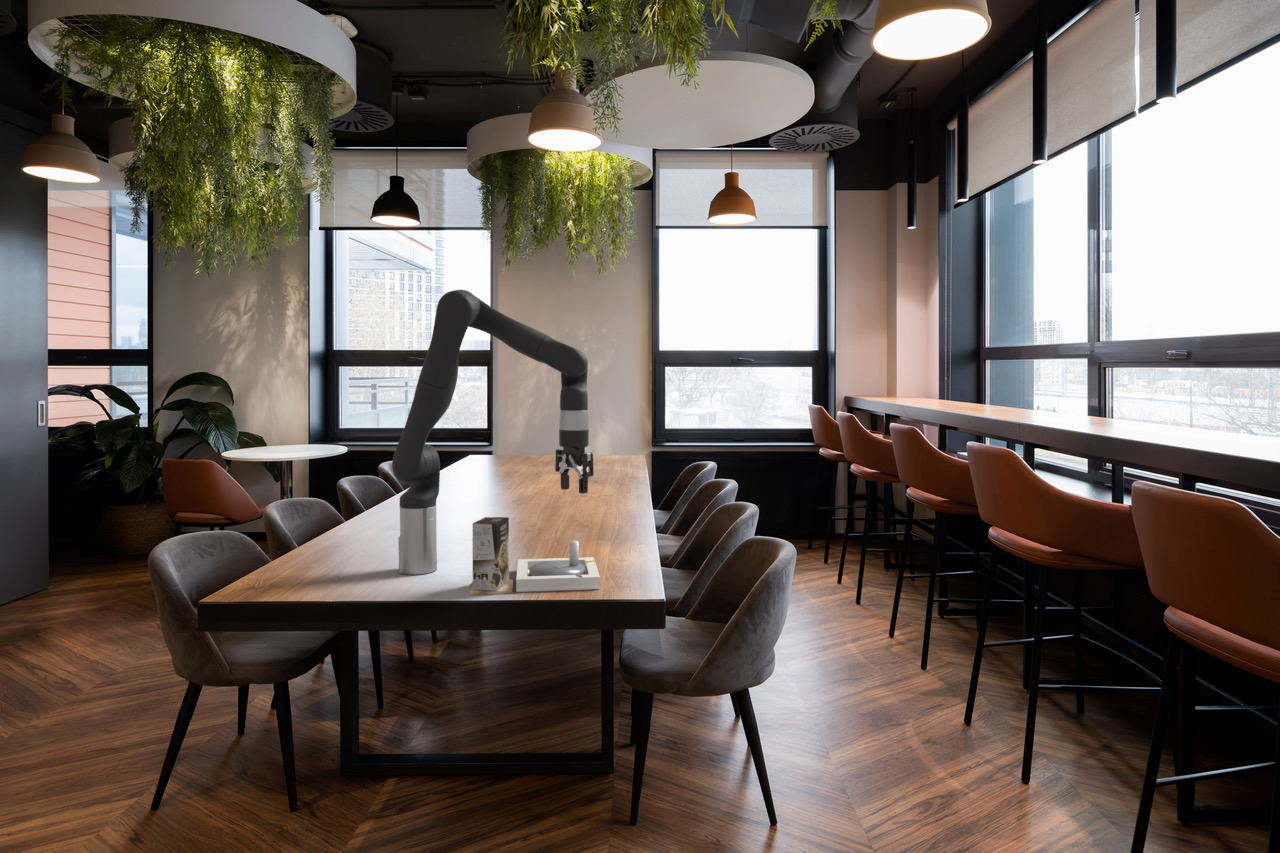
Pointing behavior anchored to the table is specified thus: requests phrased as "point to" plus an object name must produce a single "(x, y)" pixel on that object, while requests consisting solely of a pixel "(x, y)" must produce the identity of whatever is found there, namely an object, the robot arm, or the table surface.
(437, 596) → the table surface
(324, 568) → the table surface
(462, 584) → the table surface
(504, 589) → the coaster
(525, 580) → the white square tray
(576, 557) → the dial
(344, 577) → the table surface
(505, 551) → the coffee box
